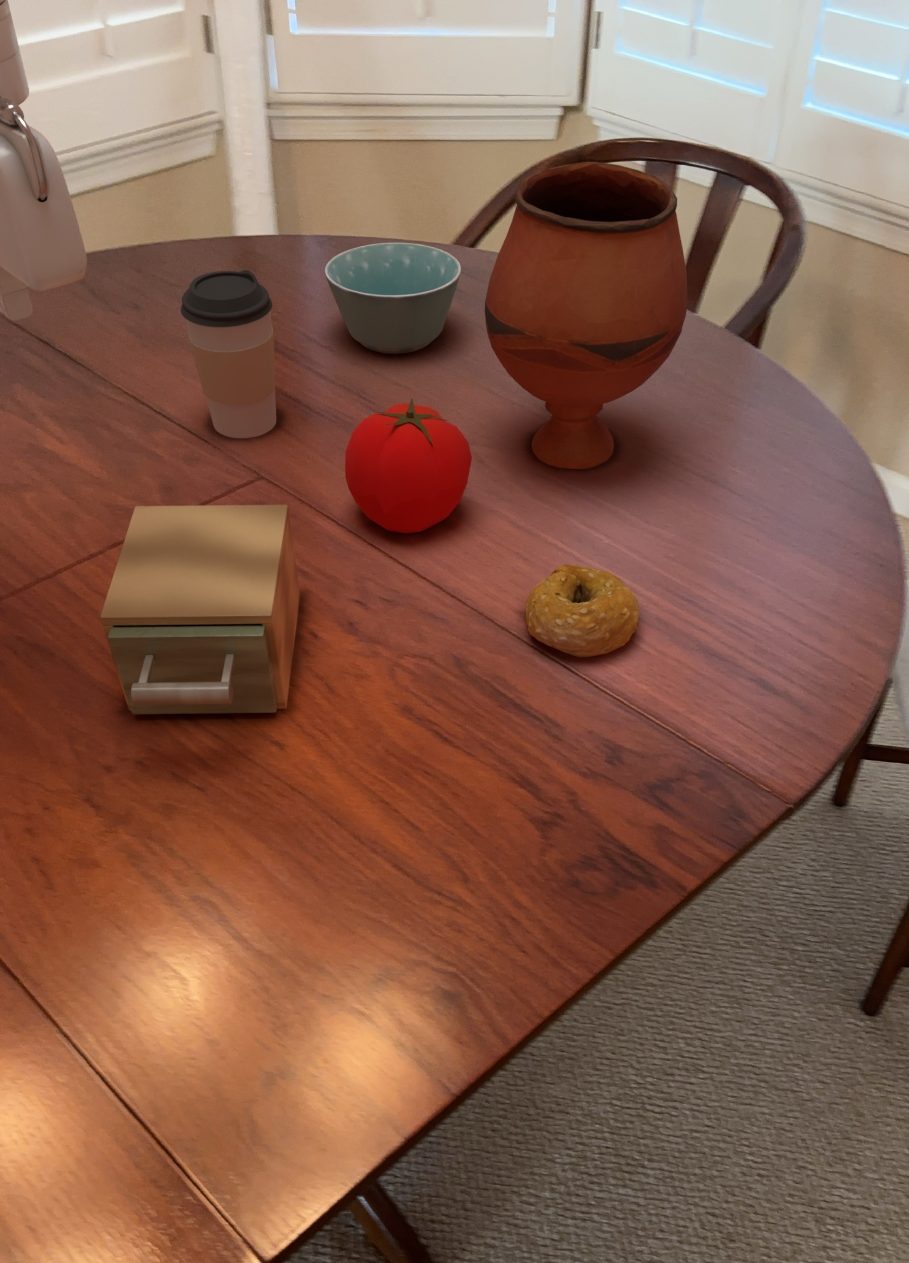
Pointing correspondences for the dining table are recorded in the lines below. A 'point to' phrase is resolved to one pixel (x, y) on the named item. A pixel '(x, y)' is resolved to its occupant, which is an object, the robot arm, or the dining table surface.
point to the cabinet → (210, 575)
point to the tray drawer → (195, 668)
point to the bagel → (582, 611)
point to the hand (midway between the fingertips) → (12, 311)
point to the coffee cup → (233, 350)
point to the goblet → (586, 298)
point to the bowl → (393, 293)
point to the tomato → (407, 467)
